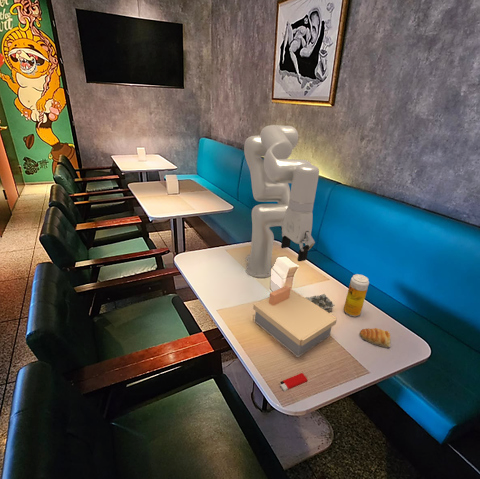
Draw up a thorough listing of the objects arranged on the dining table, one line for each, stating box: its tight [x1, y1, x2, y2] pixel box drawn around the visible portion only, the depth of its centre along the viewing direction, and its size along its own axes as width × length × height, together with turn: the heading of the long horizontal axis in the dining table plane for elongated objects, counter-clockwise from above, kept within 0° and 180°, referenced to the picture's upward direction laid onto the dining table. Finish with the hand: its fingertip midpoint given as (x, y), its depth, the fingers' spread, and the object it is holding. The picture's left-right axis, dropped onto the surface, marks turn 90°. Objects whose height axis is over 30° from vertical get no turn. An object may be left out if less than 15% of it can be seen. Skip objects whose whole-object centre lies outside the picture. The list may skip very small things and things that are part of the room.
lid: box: [252, 285, 337, 346], centre depth 100 cm, size 21×18×6 cm
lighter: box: [280, 372, 308, 392], centre depth 83 cm, size 3×1×8 cm
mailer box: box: [254, 310, 333, 358], centre depth 102 cm, size 20×16×6 cm
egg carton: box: [304, 293, 336, 313], centre depth 114 cm, size 11×8×4 cm
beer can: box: [343, 273, 370, 317], centre depth 111 cm, size 6×6×15 cm
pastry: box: [359, 327, 391, 348], centre depth 101 cm, size 9×7×4 cm
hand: (293, 253), depth 101 cm, fingers open, 9 cm apart
